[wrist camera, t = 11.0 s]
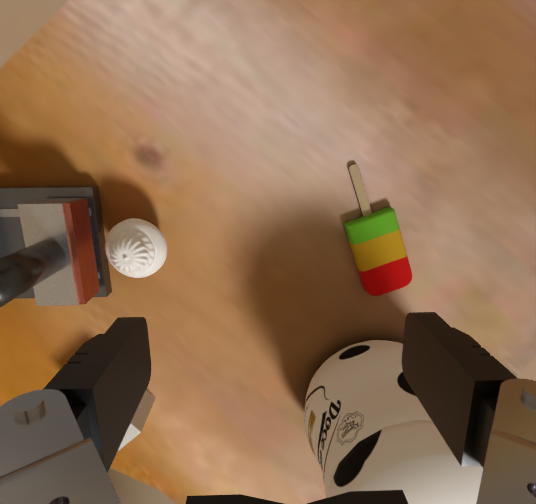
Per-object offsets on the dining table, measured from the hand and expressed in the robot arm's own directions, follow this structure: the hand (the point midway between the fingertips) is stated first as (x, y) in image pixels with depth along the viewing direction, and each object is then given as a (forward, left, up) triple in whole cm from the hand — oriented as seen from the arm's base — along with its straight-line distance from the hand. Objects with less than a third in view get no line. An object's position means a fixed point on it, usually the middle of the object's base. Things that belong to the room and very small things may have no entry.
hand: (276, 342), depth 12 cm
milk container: (+24, +13, -30) cm, 41 cm away
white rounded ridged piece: (+4, -13, -30) cm, 33 cm away
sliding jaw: (+4, -20, -28) cm, 35 cm away
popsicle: (+3, +12, -31) cm, 33 cm away
